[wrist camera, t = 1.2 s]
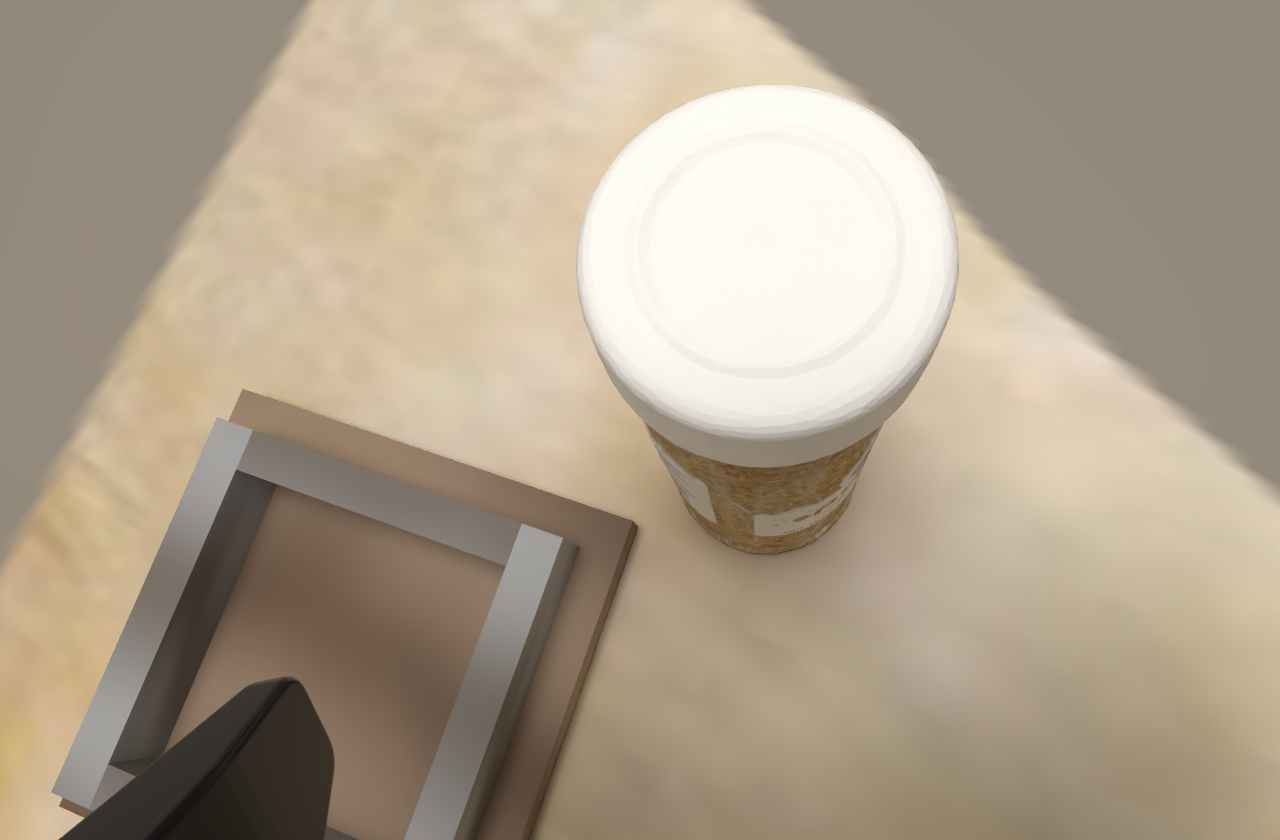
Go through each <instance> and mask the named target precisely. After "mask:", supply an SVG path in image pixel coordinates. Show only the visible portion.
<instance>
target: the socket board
mask: <svg viewBox="0 0 1280 840" xmlns="http://www.w3.org/2000/svg"><path fill="white" fill-rule="evenodd" d="M637 528H638V526H637V525H636V524H635V523H634V522H633V521H631V520H628V519H625V518H622V517H619V516H616V515H613V514H610V513H607V512H604V511H601V510H598V509H595V508H592V507H589V506H586V505H583V504H581V503H578V502H575V501H572V500H569V499H566V498H563V497H560V496H557V495H554V494H551V493H548V492H545V491H542V490H539V489H536V488H533V487H530V486H527V485H525V484H522V483H519V482H516V481H513V480H510V479H507V478H504V477H501V476H498V475H495V474H492V473H489V472H486V471H483V470H480V469H477V468H474V467H471V466H468V465H466V464H463V463H460V462H457V461H454V460H451V459H448V458H445V457H442V456H439V455H436V454H433V453H430V452H427V451H424V450H421V449H418V448H415V447H412V446H409V445H407V444H404V443H401V442H398V441H395V440H392V439H389V438H386V437H383V436H380V435H377V434H374V433H371V432H368V431H365V430H362V429H359V428H356V427H353V426H350V425H348V424H345V423H342V422H339V421H336V420H333V419H330V418H327V417H324V416H321V415H318V414H315V413H312V412H309V411H306V410H303V409H300V408H297V407H294V406H292V405H289V404H286V403H283V402H280V401H277V400H274V399H271V398H268V397H265V396H262V395H259V394H256V393H253V392H250V391H247V390H244V389H242V392H241V394H240V396H239V398H238V401H237V403H236V405H235V408H234V410H233V412H232V414H231V417H230V419H229V421H226V420H223V419H220V418H217V419H216V422H215V424H214V426H213V428H212V431H211V433H210V435H209V437H208V440H207V442H206V444H205V446H204V449H203V451H202V453H201V456H200V458H199V460H198V462H197V465H196V467H195V469H194V471H193V474H192V476H191V478H190V480H189V483H188V485H187V487H186V489H185V492H184V494H183V496H182V498H181V501H180V503H179V505H178V508H177V510H176V512H175V514H174V517H173V519H172V521H171V523H170V526H169V528H168V530H167V532H166V535H165V537H164V539H163V541H162V544H161V546H160V548H159V550H158V553H157V555H156V557H155V559H154V562H153V564H152V566H151V569H150V571H149V573H148V575H147V578H146V580H145V582H144V584H143V587H142V589H141V591H140V593H139V596H138V598H137V600H136V602H135V605H134V607H133V609H132V611H131V614H130V616H129V618H128V621H127V623H126V625H125V627H124V630H123V632H122V634H121V636H120V639H119V641H118V643H117V645H116V648H115V650H114V652H113V654H112V657H111V659H110V661H109V663H108V666H107V668H106V670H105V672H104V675H103V677H102V679H101V682H100V684H99V686H98V688H97V691H96V693H95V695H94V697H93V700H92V702H91V704H90V706H89V709H88V711H87V713H86V715H85V718H84V720H83V722H82V724H81V727H80V729H79V731H78V734H77V736H76V738H75V740H74V743H73V745H72V747H71V749H70V752H69V754H68V756H67V758H66V761H65V763H64V765H63V767H62V770H61V772H60V774H59V776H58V779H57V781H56V783H55V786H54V788H53V790H52V793H54V794H56V795H59V796H61V797H63V799H62V801H61V803H60V805H59V806H60V807H62V808H64V809H66V810H69V811H71V812H73V813H75V814H77V815H80V816H82V817H84V818H86V817H87V816H88V815H89V814H91V813H92V812H93V811H94V810H96V809H97V808H98V807H99V806H100V805H102V804H103V803H104V802H105V801H107V800H108V799H109V798H110V797H111V796H113V795H114V794H115V793H116V792H118V791H119V790H120V789H121V788H122V787H124V786H125V785H126V784H127V783H129V782H130V781H131V780H132V779H133V778H135V777H136V776H137V775H138V774H140V773H141V772H142V771H143V770H144V769H146V768H147V767H148V766H149V765H151V764H152V763H153V762H154V761H155V760H157V759H158V758H159V757H160V756H162V755H163V754H164V753H165V752H166V751H168V750H169V749H170V748H171V747H173V746H174V745H175V744H176V743H177V742H179V741H180V740H181V739H182V738H184V737H185V736H186V735H187V734H188V733H190V732H191V731H192V730H193V729H195V728H196V727H197V726H198V725H199V724H201V723H202V722H203V721H204V720H206V719H207V718H208V717H209V716H210V715H212V714H213V713H214V712H215V711H216V710H218V709H219V708H220V707H221V706H223V705H224V704H225V703H226V702H227V701H229V700H230V699H231V698H232V697H234V696H235V695H236V694H237V693H238V692H240V691H241V690H242V689H243V688H245V687H246V686H248V685H250V684H252V683H255V682H260V681H265V680H270V679H274V678H279V677H284V676H291V677H294V678H296V679H298V680H299V681H300V682H301V683H302V685H303V686H304V688H305V689H306V691H307V693H308V695H309V697H310V699H311V702H312V704H313V706H314V708H315V710H316V712H317V714H318V716H319V718H320V720H321V722H322V724H323V726H324V728H325V730H326V732H327V734H328V736H329V738H330V741H331V743H332V747H333V751H334V758H335V768H334V777H333V784H332V791H331V798H330V805H329V813H328V820H327V827H326V834H325V840H528V839H529V837H530V834H531V831H532V828H533V825H534V822H535V819H536V816H537V814H538V811H539V808H540V805H541V802H542V799H543V796H544V794H545V791H546V788H547V785H548V782H549V779H550V776H551V774H552V771H553V768H554V765H555V762H556V759H557V756H558V754H559V751H560V748H561V745H562V742H563V739H564V736H565V734H566V731H567V728H568V725H569V722H570V719H571V716H572V713H573V711H574V708H575V705H576V702H577V699H578V696H579V693H580V691H581V688H582V685H583V682H584V679H585V676H586V673H587V671H588V668H589V665H590V662H591V659H592V656H593V653H594V651H595V648H596V645H597V642H598V639H599V636H600V633H601V631H602V628H603V625H604V622H605V619H606V616H607V613H608V611H609V608H610V605H611V602H612V599H613V596H614V593H615V590H616V588H617V585H618V582H619V579H620V576H621V573H622V570H623V568H624V565H625V562H626V559H627V556H628V553H629V550H630V548H631V545H632V542H633V539H634V536H635V533H636V530H637Z"/></svg>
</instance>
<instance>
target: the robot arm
mask: <svg viewBox="0 0 1280 840" xmlns="http://www.w3.org/2000/svg"><path fill="white" fill-rule="evenodd" d="M334 768H335V758H334V751H333V747H332V743H331V741H330V738H329V736H328V734H327V732H326V730H325V728H324V726H323V724H322V722H321V720H320V718H319V716H318V714H317V712H316V710H315V708H314V706H313V704H312V702H311V699H310V697H309V695H308V693H307V691H306V689H305V688H304V686H303V685H302V683H301V682H300V681H299V680H298V679H296V678H294V677H291V676H284V677H279V678H274V679H270V680H265V681H260V682H255V683H252V684H250V685H248V686H246V687H245V688H243V689H242V690H241V691H240V692H238V693H237V694H236V695H235V696H234V697H232V698H231V699H230V700H229V701H227V702H226V703H225V704H224V705H223V706H221V707H220V708H219V709H218V710H216V711H215V712H214V713H213V714H212V715H210V716H209V717H208V718H207V719H206V720H204V721H203V722H202V723H201V724H199V725H198V726H197V727H196V728H195V729H193V730H192V731H191V732H190V733H188V734H187V735H186V736H185V737H184V738H182V739H181V740H180V741H179V742H177V743H176V744H175V745H174V746H173V747H171V748H170V749H169V750H168V751H166V752H165V753H164V754H163V755H162V756H160V757H159V758H158V759H157V760H155V761H154V762H153V763H152V764H151V765H149V766H148V767H147V768H146V769H144V770H143V771H142V772H141V773H140V774H138V775H137V776H136V777H135V778H133V779H132V780H131V781H130V782H129V783H127V784H126V785H125V786H124V787H122V788H121V789H120V790H119V791H118V792H116V793H115V794H114V795H113V796H111V797H110V798H109V799H108V800H107V801H105V802H104V803H103V804H102V805H100V806H99V807H98V808H97V809H96V810H94V811H93V812H92V813H91V814H89V815H88V816H87V817H86V818H85V819H83V820H82V821H81V822H80V823H78V824H77V825H76V826H75V827H74V828H72V829H71V830H70V831H69V832H67V833H66V834H65V835H64V836H63V837H61V838H60V839H59V840H325V834H326V827H327V820H328V813H329V805H330V798H331V791H332V784H333V777H334Z"/></svg>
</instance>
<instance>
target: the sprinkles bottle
mask: <svg viewBox="0 0 1280 840" xmlns="http://www.w3.org/2000/svg"><path fill="white" fill-rule="evenodd" d="M576 271H577V287H578V295H579V300H580V304H581V309H582V313H583V317H584V320H585V323H586V325H587V328H588V330H589V333H590V335H591V338H592V340H593V343H594V345H595V348H596V350H597V352H598V355H599V357H600V359H601V361H602V363H603V365H604V367H605V369H606V371H607V373H608V375H609V377H610V379H611V380H612V382H613V384H614V385H615V387H616V388H617V390H618V391H619V393H620V394H621V396H622V398H623V399H624V400H625V401H626V402H627V403H628V404H629V406H630V407H631V408H632V409H633V410H634V411H635V412H636V413H637V414H638V416H639V417H640V418H641V419H642V420H643V422H644V424H645V426H646V428H647V431H648V433H649V435H650V437H651V439H652V441H653V443H654V445H655V447H656V449H657V451H658V453H659V455H660V457H661V459H662V460H663V462H664V464H665V465H666V467H667V469H668V471H669V473H670V474H671V476H672V478H673V480H674V481H675V483H676V485H677V487H678V489H679V492H680V494H681V496H682V498H683V500H684V503H685V505H686V507H687V509H688V511H689V512H690V514H691V515H692V516H693V518H694V519H695V520H697V521H698V522H699V524H700V525H702V526H703V527H704V529H705V530H706V531H707V532H708V533H709V534H710V535H711V536H713V537H714V538H716V539H718V540H720V541H722V542H723V543H725V544H726V545H729V546H731V547H733V548H735V549H738V550H741V551H745V552H751V553H766V554H774V553H779V552H782V551H789V550H793V549H796V548H800V547H803V546H805V545H807V544H809V543H811V542H813V541H815V540H816V539H817V538H819V537H820V536H821V535H822V534H823V533H825V532H826V531H827V530H829V529H830V528H831V527H832V526H833V524H834V523H835V522H836V521H837V520H838V518H839V517H840V516H841V514H842V513H843V512H844V510H845V509H846V508H847V506H848V504H849V502H850V500H851V496H852V492H853V489H854V487H855V484H856V480H857V479H858V477H859V475H860V472H861V470H862V468H863V466H864V463H865V461H866V459H867V457H868V454H869V452H870V450H871V447H872V445H873V443H874V442H875V440H876V438H877V436H878V433H879V431H880V429H881V427H882V425H883V423H884V422H885V421H886V420H887V419H888V418H889V417H890V416H891V415H892V414H893V413H894V412H895V411H896V410H897V409H898V408H899V407H900V406H901V405H902V404H903V402H904V401H905V400H906V398H907V397H908V395H909V394H910V393H911V391H912V390H913V388H914V387H915V385H916V384H917V382H918V380H919V378H920V377H921V375H922V373H923V372H924V370H925V368H926V366H927V365H928V363H929V361H930V360H931V358H932V355H933V353H934V351H935V349H936V347H937V345H938V343H939V341H940V338H941V336H942V333H943V331H944V329H945V326H946V324H947V321H948V319H949V316H950V313H951V310H952V307H953V303H954V300H955V294H956V288H957V280H958V273H959V248H958V236H957V231H956V226H955V222H954V218H953V214H952V211H951V207H950V205H949V202H948V199H947V196H946V193H945V191H944V189H943V187H942V185H941V183H940V181H939V179H938V177H937V176H936V174H935V172H934V170H933V169H932V167H931V166H930V165H929V163H928V162H927V161H926V159H925V158H924V157H923V155H922V154H921V153H920V152H919V151H918V150H917V148H916V147H915V146H914V145H913V144H912V143H911V142H910V141H909V140H908V139H907V138H906V137H905V136H904V135H903V134H902V133H901V132H900V131H899V130H897V129H896V128H895V127H894V126H893V125H891V124H890V123H889V122H887V121H886V120H885V119H883V118H882V117H880V116H879V115H877V114H875V113H874V112H872V111H870V110H869V109H867V108H865V107H864V106H861V105H859V104H857V103H855V102H852V101H850V100H848V99H846V98H843V97H841V96H838V95H834V94H831V93H828V92H825V91H822V90H817V89H812V88H807V87H800V86H793V85H753V86H744V87H738V88H734V89H729V90H723V91H719V92H715V93H712V94H709V95H705V96H703V97H701V98H698V99H696V100H693V101H691V102H688V103H686V104H684V105H682V106H680V107H678V108H676V109H674V110H672V111H671V112H669V113H667V114H665V115H664V116H662V117H661V118H659V119H658V120H656V121H655V122H654V123H652V124H651V125H650V126H648V127H647V128H646V129H645V130H643V131H642V132H641V133H640V134H639V135H637V136H636V137H635V138H634V139H633V140H632V141H631V142H629V143H628V145H627V146H626V147H625V148H624V149H623V150H622V151H621V152H620V154H619V155H618V156H617V157H616V158H615V159H614V161H613V162H612V164H611V165H610V166H609V168H608V169H607V171H606V172H605V174H604V175H603V177H602V179H601V181H600V182H599V184H598V186H597V188H596V190H595V192H594V193H593V195H592V197H591V199H590V202H589V204H588V207H587V209H586V213H585V216H584V219H583V222H582V226H581V231H580V236H579V240H578V248H577V263H576Z"/></svg>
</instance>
